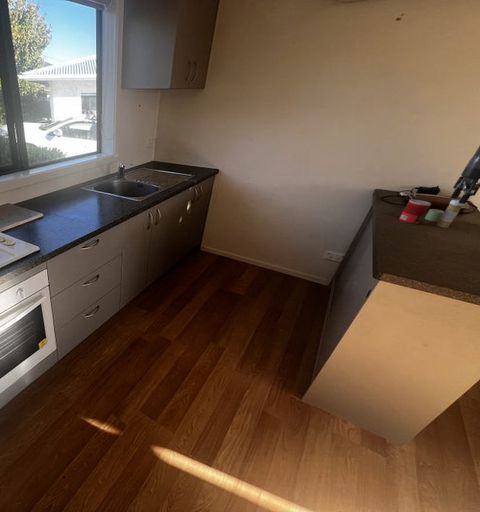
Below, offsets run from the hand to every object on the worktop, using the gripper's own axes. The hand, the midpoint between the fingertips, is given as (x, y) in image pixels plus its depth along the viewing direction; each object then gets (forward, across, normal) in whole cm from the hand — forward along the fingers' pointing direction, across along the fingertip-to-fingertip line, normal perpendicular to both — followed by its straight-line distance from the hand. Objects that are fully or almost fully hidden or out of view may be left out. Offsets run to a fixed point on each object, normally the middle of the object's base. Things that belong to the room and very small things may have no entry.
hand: (457, 200), depth 140 cm
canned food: (+14, 0, +13) cm, 19 cm away
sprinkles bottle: (+14, 0, 0) cm, 14 cm away
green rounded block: (+13, +10, 0) cm, 17 cm away
